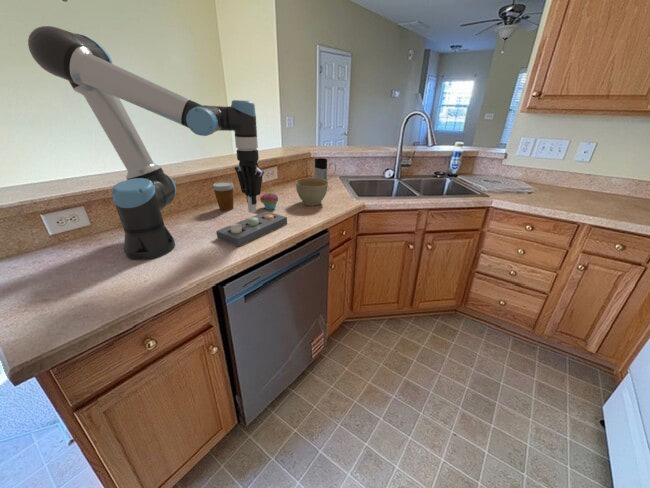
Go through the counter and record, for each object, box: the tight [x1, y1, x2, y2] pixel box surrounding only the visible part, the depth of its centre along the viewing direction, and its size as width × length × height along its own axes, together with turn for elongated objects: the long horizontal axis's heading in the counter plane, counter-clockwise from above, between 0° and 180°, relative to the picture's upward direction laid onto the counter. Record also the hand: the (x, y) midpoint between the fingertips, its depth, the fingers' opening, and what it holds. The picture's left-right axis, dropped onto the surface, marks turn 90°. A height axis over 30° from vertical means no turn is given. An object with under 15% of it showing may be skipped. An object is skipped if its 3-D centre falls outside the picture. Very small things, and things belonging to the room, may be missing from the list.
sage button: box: [247, 216, 259, 227], centre depth 113 cm, size 4×4×4 cm
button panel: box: [215, 210, 288, 247], centre depth 113 cm, size 26×12×3 cm, turn 145°
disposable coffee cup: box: [212, 181, 235, 212], centre depth 134 cm, size 10×10×12 cm
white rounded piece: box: [229, 223, 242, 235], centre depth 106 cm, size 4×4×4 cm
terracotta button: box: [264, 214, 274, 220], centre depth 119 cm, size 4×4×4 cm
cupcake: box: [259, 184, 279, 210], centre depth 135 cm, size 9×8×12 cm
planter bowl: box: [295, 177, 329, 207], centre depth 143 cm, size 16×16×11 cm
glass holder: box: [314, 157, 337, 181], centre depth 174 cm, size 9×14×15 cm, turn 67°
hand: (252, 211), depth 111 cm, fingers closed
